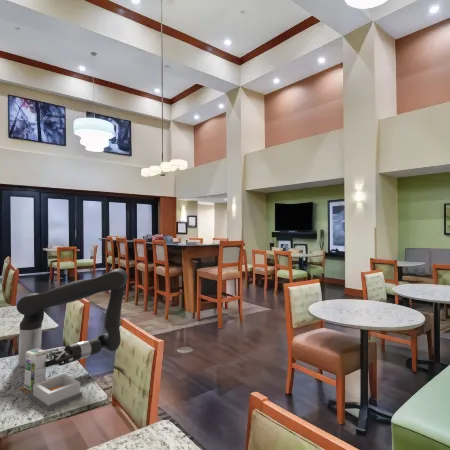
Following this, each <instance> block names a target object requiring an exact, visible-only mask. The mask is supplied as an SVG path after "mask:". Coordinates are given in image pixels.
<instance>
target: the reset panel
mask: <svg viewBox="0 0 450 450" xmlns="http://www.w3.org/2000/svg"><path fill="white" fill-rule="evenodd" d="M55 386H64V387H61V388H58V389H55V390H53V391H50V390H49V389H50V388H52V387H55ZM83 397H84V396H83V392H81V382H80V381H79V380H77V379H75V378H74V377H71V376H70V375H68V374H65V373H63V374H60V375H56V376H54V377H51V378H48V379H45V381H42V382H39V383H36V384H33V391H32V392H30V393H28V395H27V398H29V399H31V400H32V401H33V402H35V403H36V404H38V405H39V406H40V407H42V408H43V409H45V410H46V411H49V412H50V411H52V410H54V409H57V408H59V407H61V406H64V405H66V404H68V403H71V402H73V401H75V400H78V399H80V398H83Z"/></svg>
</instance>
